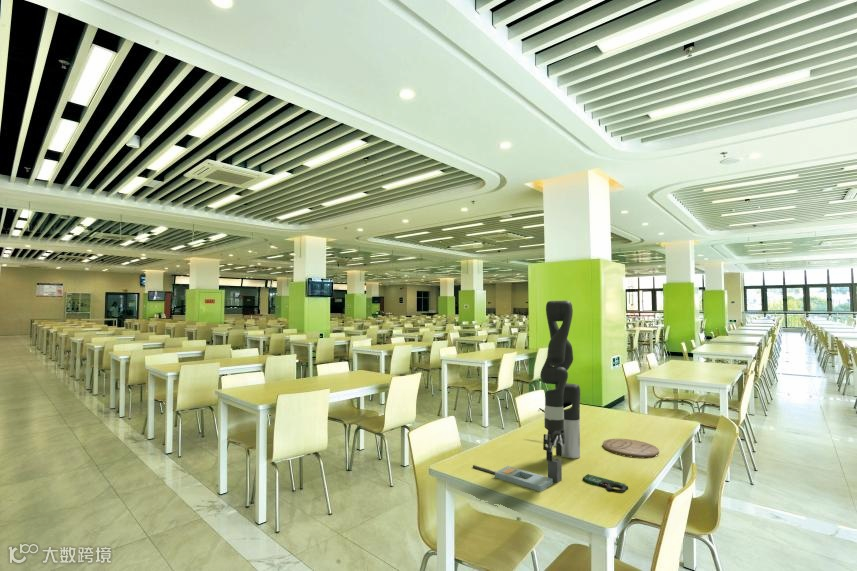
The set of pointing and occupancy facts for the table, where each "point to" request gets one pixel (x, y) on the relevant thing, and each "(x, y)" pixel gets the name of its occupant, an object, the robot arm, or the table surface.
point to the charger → (555, 470)
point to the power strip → (513, 476)
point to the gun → (605, 483)
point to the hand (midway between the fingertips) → (554, 458)
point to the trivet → (630, 448)
